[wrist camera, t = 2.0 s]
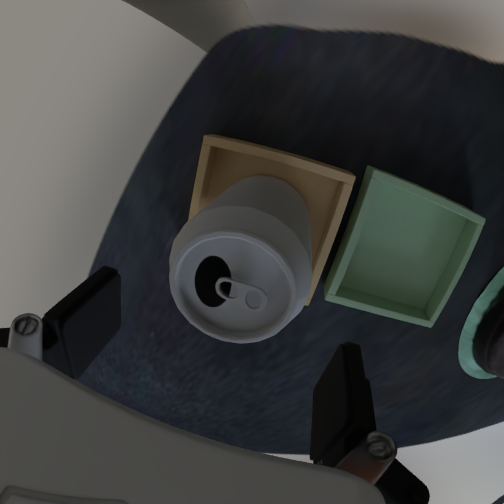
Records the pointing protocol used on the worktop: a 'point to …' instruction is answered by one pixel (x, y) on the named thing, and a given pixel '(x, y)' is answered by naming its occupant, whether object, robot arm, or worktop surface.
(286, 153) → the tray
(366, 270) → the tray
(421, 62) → the worktop surface
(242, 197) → the can
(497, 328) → the black and teal hat
